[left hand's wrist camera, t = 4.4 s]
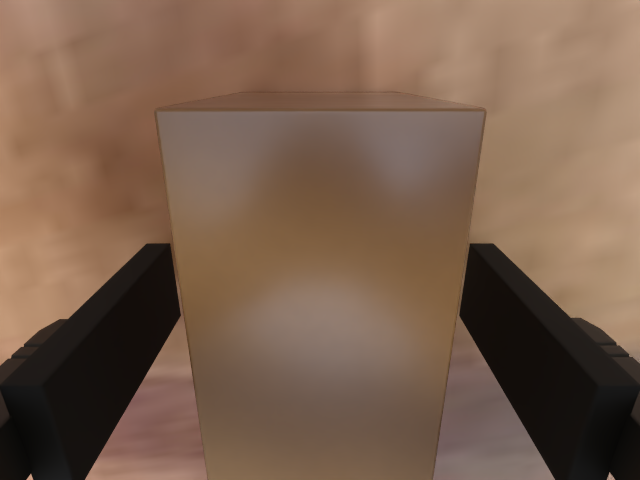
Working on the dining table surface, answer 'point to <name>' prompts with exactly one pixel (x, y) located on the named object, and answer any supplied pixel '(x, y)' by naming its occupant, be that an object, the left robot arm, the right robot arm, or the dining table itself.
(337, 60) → the dining table surface
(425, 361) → the bar
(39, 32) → the dining table surface
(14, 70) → the dining table surface
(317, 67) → the dining table surface
